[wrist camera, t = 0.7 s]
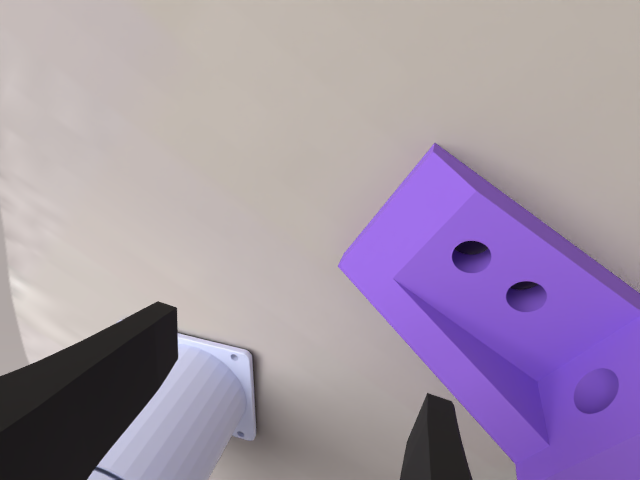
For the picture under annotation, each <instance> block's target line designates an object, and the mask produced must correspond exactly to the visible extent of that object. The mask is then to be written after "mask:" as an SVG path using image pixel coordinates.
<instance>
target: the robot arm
mask: <svg viewBox="0 0 640 480" xmlns="http://www.w3.org/2000/svg"><path fill="white" fill-rule="evenodd" d="M236 355H237V356H236ZM231 436H235V437H238V438H241V439H245V440H248V441H252V440H254V438H255V436H256V418H255V400H254V381H253V363H252V355H251V354H250V352H249V351H247V350H245V349H241V348H237V347H233V346H228V345H224V344H220V343H216V342H212V341H208V340H204V339H200V338H196V337H191V336H187V335H183V334H179V333H178V330H177V308H176V307H173V306H170V305H167V304H164V303H161V302H156V303H154V304H152V305H150V306H148V307H146V308H144V309H142V310H140V311H138V312H137V313H135V314H133V315H131V316H129V317H127V318H125V319H123V320H119V321H118V322H117V323H116V324H114V325H112V326H110V327H108V328H106V329H104V330H102V331H100V332H98V333H96V334H94V335H92V336H90V337H88V338H87V339H85V340H83V341H81V342H78V343H76V344H74V345H72V346H70V347H68V348H66V349H63V350H61V351H59V352H57V353H55V354H53V355H51V356H48V357H46V358H44V359H42V360H40V361H37V362H35V363H33V364H30V365H28V366H25V367H23V368H21V369H18V370H15V371H13V372H10V373H8V374H5V375H3V376H0V480H208V479H209V477H210V475H211V473H212V472H213V470H214V468H215V466H216V464H217V462H218V460H219V459H220V457H221V455H222V453H223V451H224V449H225V447H226V446H227V444H228V442H229V440H230V438H231ZM400 480H472V477H471V473H470V470H469V467H468V463H467V460H466V456H465V452H464V448H463V444H462V441H461V436H460V432H459V428H458V423H457V418H456V413H455V407H454V405H453V403H452V401H449V400H446V399H443V398H440V397H437V396H434V395H431V394H428V393H427V396H426V398H425V400H424V403H423V405H422V407H421V410H420V412H419V415H418V417H417V419H416V422H415V424H414V426H413V429H412V431H411V433H410V436H409V438H408V441H407V445H406V450H405V455H404V460H403V466H402V471H401V477H400Z"/></svg>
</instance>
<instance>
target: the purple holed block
mask: <svg viewBox="0 0 640 480" xmlns="http://www.w3.org/2000/svg"><path fill="white" fill-rule="evenodd" d="M465 241H478V242H481V243H483V244H484V245H486V246H487V247H488V249H487V250H486V251H484V252H482V253H479V254H472V255H470V254H463V253H460V252H458V251H456V250H455V247H456V246H457V245H459V244H460V243H462V242H465ZM338 267H339V268H340V269H341V270H342V271H343V272H344V274H345V275H346V276H347V277H348V278H349V279H350V280H351V281H352V282H353V284H354V285H355V286H356V287H357V288H358V289H359V290H360V291H361V293H362V294H363V295H364V296H365V297H366V298H367V299H368V300H369V301H370V303H371V304H372V305H373V306H374V307H375V308H376V309H377V310H378V311H379V313H380V314H381V315H382V316H383V317H384V318H385V319H386V320H387V321H388V323H389V324H390V325H391V326H392V327H393V328H394V329H395V330H396V332H397V333H398V334H399V335H400V336H401V337H402V338H403V339H404V340H405V342H406V343H407V344H408V345H409V346H410V347H411V348H412V349H413V350H414V352H415V353H416V354H417V355H418V356H419V357H420V358H421V359H422V360H423V362H424V363H425V364H426V365H427V366H428V367H429V368H430V369H431V370H432V372H433V373H434V374H435V375H436V376H437V377H438V378H439V379H440V381H441V382H442V383H443V384H444V385H445V386H446V387H447V388H448V389H449V391H450V392H451V393H452V394H453V395H454V396H455V397H456V398H457V399H458V401H459V402H460V403H461V404H462V405H463V406H464V407H465V408H466V409H467V411H468V412H469V413H470V414H471V415H472V416H473V417H474V418H475V420H476V421H477V422H478V423H479V424H480V425H481V426H482V427H483V428H484V430H485V431H486V432H487V433H488V434H489V435H490V436H491V437H492V438H493V440H494V441H495V442H496V443H497V444H498V445H499V446H500V447H501V448H502V450H503V451H504V452H505V453H506V454H507V455H508V456H509V457H510V458H511V460H512V461H513V462H514V463H515V464H516V473H517V480H640V293H638V292H637V291H636V290H634V289H633V288H632V287H630V286H629V285H627V284H626V283H625V282H623V281H622V280H621V279H619V278H618V277H617V276H615V275H614V274H613V273H611V272H610V271H608V270H607V269H606V268H604V267H603V266H602V265H600V264H599V263H598V262H596V261H595V260H594V259H592V258H591V257H589V256H588V255H587V254H585V253H584V252H583V251H581V250H580V249H579V248H577V247H576V246H574V245H573V244H572V243H570V242H569V241H568V240H566V239H565V238H564V237H562V236H561V235H560V234H558V233H557V232H555V231H554V230H553V229H551V228H550V227H549V226H547V225H546V224H545V223H543V222H542V221H540V220H539V219H538V218H536V217H535V216H534V215H532V214H531V213H530V212H528V211H527V210H526V209H524V208H523V207H521V206H520V205H519V204H517V203H516V202H515V201H513V200H512V199H511V198H509V197H508V196H507V195H505V194H504V193H502V192H501V191H500V190H498V189H497V188H496V187H494V186H493V185H492V184H490V183H489V182H487V181H486V180H485V179H483V178H482V177H481V176H479V175H478V174H477V173H475V172H474V171H473V170H471V169H470V168H468V167H467V166H466V165H464V164H463V163H462V162H460V161H459V160H458V159H456V158H455V157H453V156H452V155H451V154H449V153H448V152H447V151H445V150H444V149H443V148H441V147H440V146H439V145H437V144H436V143H434V144H433V146H432V147H431V148H430V149H429V151H428V152H427V153H426V154H425V155H424V157H423V158H422V159H421V160H420V162H419V163H418V164H417V165H416V166H415V168H414V169H413V170H412V171H411V173H410V174H409V175H408V176H407V177H406V179H405V180H404V181H403V182H402V184H401V185H400V186H399V187H398V188H397V190H396V191H395V192H394V193H393V194H392V196H391V197H390V198H389V199H388V201H387V202H386V203H385V204H384V205H383V207H382V208H381V209H380V210H379V212H378V213H377V214H376V215H375V216H374V218H373V219H372V220H371V221H370V223H369V224H368V225H367V226H366V227H365V229H364V230H363V231H362V232H361V234H360V235H359V236H358V237H357V238H356V240H355V241H354V242H353V243H352V245H351V246H350V247H349V248H348V249H347V251H346V252H345V253H344V255H343V257H342V259H341V261H340V263H339V265H338ZM522 281H531V282H535V283H537V284H538V285H536V286H534V287H532V288H529V289H524V290H516V289H511V288H510V287H511V286H512V285H514V284H516V283H518V282H522Z"/></svg>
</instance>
